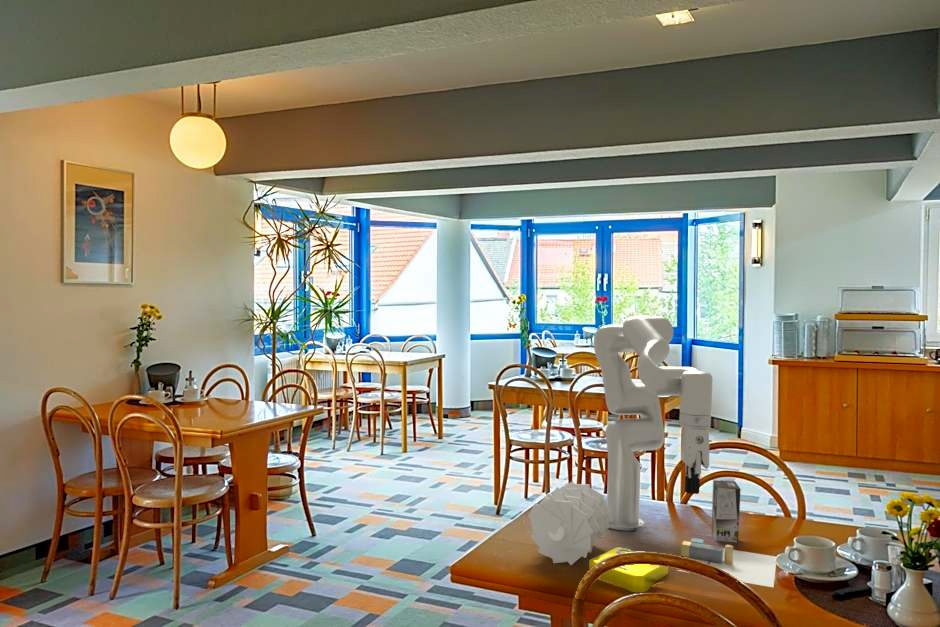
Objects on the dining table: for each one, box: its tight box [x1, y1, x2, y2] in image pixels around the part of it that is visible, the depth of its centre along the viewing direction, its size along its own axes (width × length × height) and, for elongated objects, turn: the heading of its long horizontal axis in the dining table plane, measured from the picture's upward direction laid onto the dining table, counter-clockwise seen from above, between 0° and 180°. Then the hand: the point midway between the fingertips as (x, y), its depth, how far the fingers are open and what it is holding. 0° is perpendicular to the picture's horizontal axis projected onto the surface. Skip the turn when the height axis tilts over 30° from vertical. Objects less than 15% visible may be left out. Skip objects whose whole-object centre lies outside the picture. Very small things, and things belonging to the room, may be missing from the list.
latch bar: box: [680, 540, 725, 563], centre depth 190 cm, size 10×3×3 cm, turn 63°
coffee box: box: [711, 479, 742, 543], centre depth 208 cm, size 9×6×16 cm
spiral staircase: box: [527, 480, 611, 566], centre depth 195 cm, size 18×18×25 cm
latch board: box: [676, 537, 777, 589], centre depth 187 cm, size 22×23×6 cm
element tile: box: [588, 546, 669, 594], centre depth 180 cm, size 15×15×5 cm
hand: (691, 492), depth 185 cm, fingers closed
